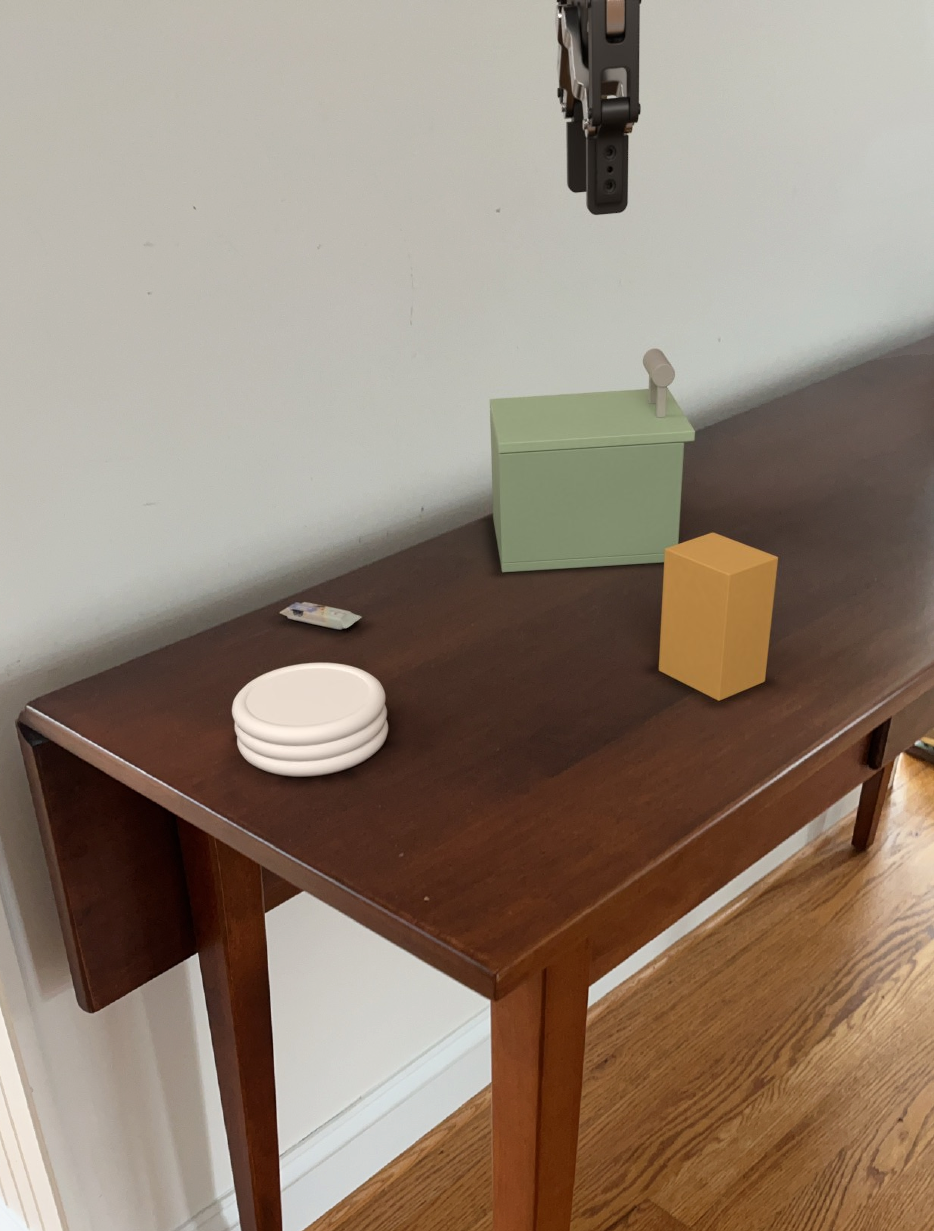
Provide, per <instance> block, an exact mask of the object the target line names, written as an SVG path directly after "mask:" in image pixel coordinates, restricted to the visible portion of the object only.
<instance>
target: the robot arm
mask: <svg viewBox="0 0 934 1231" xmlns="http://www.w3.org/2000/svg"><path fill="white" fill-rule="evenodd" d="M556 3H557V5H556V6H555V16H554V17H555V19H554V25H555V32H556V39H557V58H556V72H557V73H556V74H557V79H558V87H557V89H556V96H557V98H558V99H559V104H560V111H561V113H562V116H563V120H571V121H566V122H565V127H566V128H565V131H566V134H565V135H566V137H565V138H566V186H567V188H568V189H569V191H571V192H572V193H575V194H578V193H585V196H586V197H585V202H586V203H585V204H586V209H587V210H588V211H589V213H590V214H592V215H594V216H602V215H612V214H620V213H623V212H624V211H625V210H626V209H627V207H628V204H629V138H630V137H629V136H630V135H629V134H632V133H633V126H635V124H637V123H638V122H639V116H640V115H641V112H642V109H641V108H642V107H641V103H640V41H641V40H640V32H641V31H640V29H641V28H640V27H641V25H640V24H641V23H640V22H641V21H640V19H641V5H642V0H556ZM611 96H612V97H611ZM608 97H610V98H608Z"/></svg>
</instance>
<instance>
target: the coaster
mask: <svg viewBox="0 0 934 1231" xmlns="http://www.w3.org/2000/svg"><path fill="white" fill-rule="evenodd" d="M385 703H386V692H385V689H384V687H383V685H382V684H381V682H380V681H379V680H378V679H377V677H375V676H374V675H372V674H371V673H369V672H367V671H365V670H363V669H361V668H358V667H355V666H351V665H348V664H343V663H337V662H336V663H335V662H308V663H307V662H306V663H299V664H292V665H288V666H284V667H280V668H276V669H273V670H271V671H268V672H265V673H263V674H262V675H259V676H258V677H256V678H254V679H252V680H251V681H249V682H248V683H247V684H246V685H244V686H243V687H242V688H241V689H240V690H239V692H238V693H237V694H236V696H235V697H234V699H233V702H232V706H231V716H232V719H233V721H234V732H235V734H236V736H237V737H236V744H237V748H238V751H239V752H240V754H241V756H242V758H244V759H245V760H246V762H248V763H249V764H251V765H252V766H254V767H256V768H257V769H259V770H262V771H265V772H267V773H270V774H274V775H278V776H286V777H292V778H293V777H296V778H297V777H298V778H303V777H306V778H307V777H318V776H325V775H331V774H334V773H338V772H342V771H345V770H348V769H350V768H353V767H355V766H357V765H359V764H361V763H364V762H365V761H367V760H368V759H369V758H371V757H372V756H373V755H375V754H376V753H377V752H378V751H379V750H380V749H381V748H382V747H383V745H384V744H385V742H386V740H387V736H388V733H389V724H388V720H387V716H388V709H387V706H386V704H385Z"/></svg>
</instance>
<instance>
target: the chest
mask: <svg viewBox="0 0 934 1231" xmlns="http://www.w3.org/2000/svg"><path fill="white" fill-rule="evenodd" d="M489 422H490V425H489V426H490V454H491V457H490V458H491V459H490V460H491V486H492V487H491V488H492V489H491V491H492V519H493V525H494V531H495V537H496V538H495V539H496V542H497V550H498V555H499V562H500V568H501V572H502V573H514V572H530V571H549V570H563V569H579V568H580V569H581V568H594V567H595V568H597V567H609V566H610V567H611V566H627V565H643V564H657V563H658V564H661V563H664V559H665V549H666V548H669V547H671V546H674V545H677V544H679V539H680V538H679V537H680V524H681V505H682V502H681V501H682V489H683V488H682V487H683V474H684V473H683V472H684V453H685V442H671V443H655V444H640V445H624V446H608V447H592V448H576V449H561V450H545V451H529V452H513V453H499V451H498V446H497V441H496V436H495V431H494V426H493V421H492V416H491V411H490V410H489Z"/></svg>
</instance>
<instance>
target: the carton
mask: <svg viewBox="0 0 934 1231" xmlns="http://www.w3.org/2000/svg"><path fill="white" fill-rule="evenodd" d="M778 563H779V556H776V555H773V554H771V553H768V552H766V551H763V550H760V549H758V548H756V547H752V546H750V545H747V544H745V543H743V542H740V541H737V540H734V539H731V538H729V537H727V536H724V535H721V534H718V533H716V532H710V533H707V534H704V535H701V536H698V537H695V538H692V539H689V540H687V541H683V542H681V543H678V544H677V545H674V546H671V547H669V548H666V549H665V559H664V562H663V581H662V597H661V598H662V600H661V602H662V603H661V618H660V637H659V638H660V639H659V655H658V656H659V657H658V672H661V673H663V674H665V675H667V676H669V677H671V678H672V679H674V680H677V681H679V682H680V683H682V684H684V685H686V686H689V687H691V688H692V689H695V690H697V691H698V692H700V693H702V694H704V695H706V696H708V697H710V698H712V699H714V700H716V701H718V702H720V701H722V700H725V699H727V698H729V697H732V696H734V695H737V694H739V693H741V692H743V691H746V690H748V689H750V688H754V687H755V686H758V685H760V684H763V683H765V681H766V675H767V664H768V655H769V648H770V637H771V629H772V621H773V620H772V619H773V611H774V610H773V609H774V601H775V592H776V582H777V574H778V573H777V572H778Z"/></svg>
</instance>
